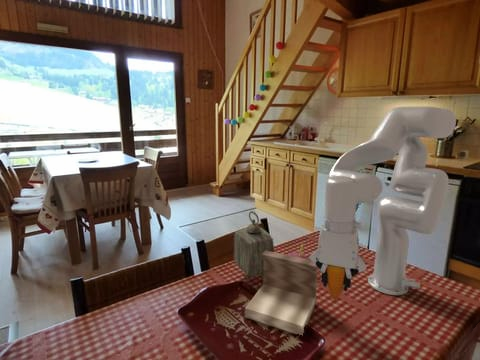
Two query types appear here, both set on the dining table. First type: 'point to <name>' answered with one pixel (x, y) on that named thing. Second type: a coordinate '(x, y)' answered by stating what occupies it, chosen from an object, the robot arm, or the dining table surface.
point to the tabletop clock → (251, 248)
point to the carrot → (335, 280)
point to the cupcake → (299, 254)
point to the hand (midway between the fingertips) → (335, 285)
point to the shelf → (285, 293)
